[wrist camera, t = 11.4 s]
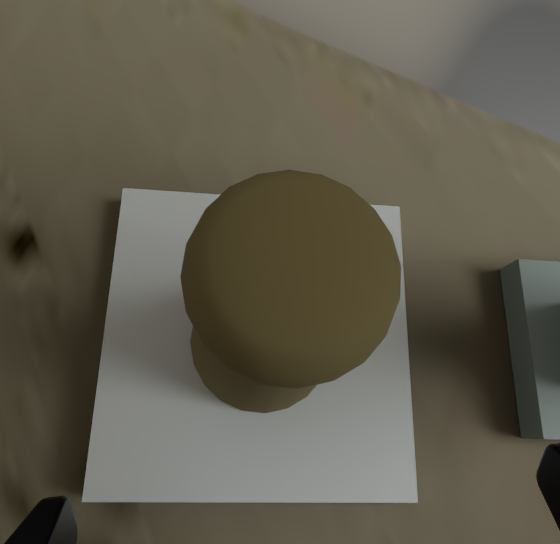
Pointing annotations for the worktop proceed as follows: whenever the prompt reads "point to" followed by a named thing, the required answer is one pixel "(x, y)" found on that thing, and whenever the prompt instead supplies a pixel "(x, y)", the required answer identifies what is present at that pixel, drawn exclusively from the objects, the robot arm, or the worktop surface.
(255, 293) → the cork
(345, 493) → the arbor press
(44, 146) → the worktop surface
